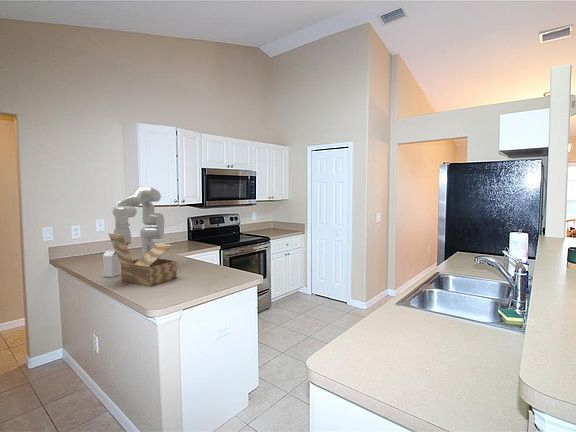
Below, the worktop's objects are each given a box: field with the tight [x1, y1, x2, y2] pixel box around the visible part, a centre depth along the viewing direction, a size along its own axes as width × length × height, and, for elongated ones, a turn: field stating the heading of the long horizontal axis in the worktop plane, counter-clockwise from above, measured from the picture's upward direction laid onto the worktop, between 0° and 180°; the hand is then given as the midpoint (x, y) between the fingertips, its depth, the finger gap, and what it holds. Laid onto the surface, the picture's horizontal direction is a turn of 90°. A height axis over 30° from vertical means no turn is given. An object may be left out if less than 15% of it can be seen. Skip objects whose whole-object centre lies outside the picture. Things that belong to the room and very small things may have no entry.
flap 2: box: [134, 242, 173, 267], centre depth 210 cm, size 22×14×1 cm
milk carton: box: [102, 248, 121, 278], centre depth 224 cm, size 7×7×19 cm
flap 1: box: [107, 232, 134, 265], centre depth 205 cm, size 22×14×1 cm
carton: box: [120, 257, 178, 287], centre depth 216 cm, size 22×28×12 cm
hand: (123, 253), depth 209 cm, fingers closed
